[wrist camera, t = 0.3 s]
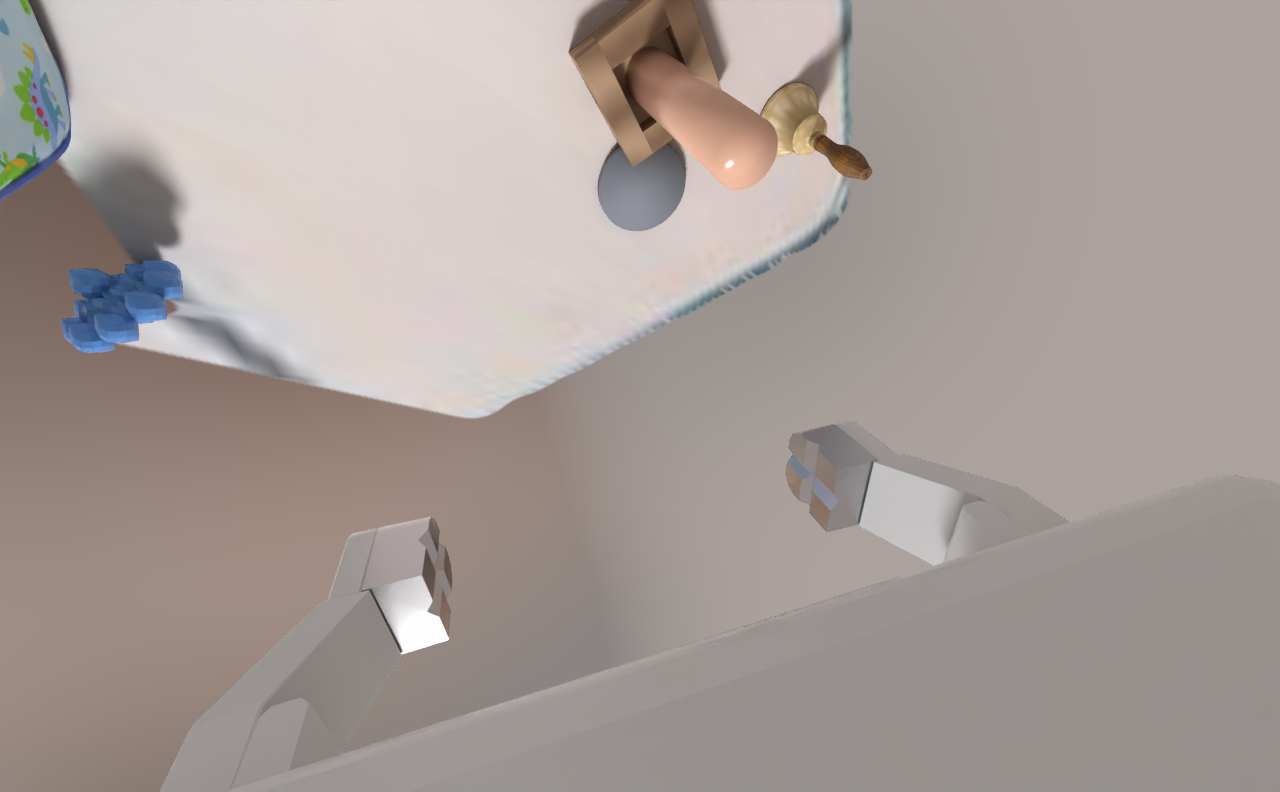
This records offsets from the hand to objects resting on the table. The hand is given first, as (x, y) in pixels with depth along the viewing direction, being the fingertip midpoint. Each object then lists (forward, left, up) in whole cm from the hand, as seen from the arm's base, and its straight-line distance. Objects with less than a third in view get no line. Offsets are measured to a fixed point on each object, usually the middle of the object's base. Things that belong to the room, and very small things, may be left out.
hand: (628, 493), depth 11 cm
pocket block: (-6, +18, -51) cm, 54 cm away
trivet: (+4, +24, -51) cm, 56 cm away
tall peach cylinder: (-6, +18, -50) cm, 53 cm away
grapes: (+34, -20, -51) cm, 65 cm away
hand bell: (-11, +37, -51) cm, 64 cm away
